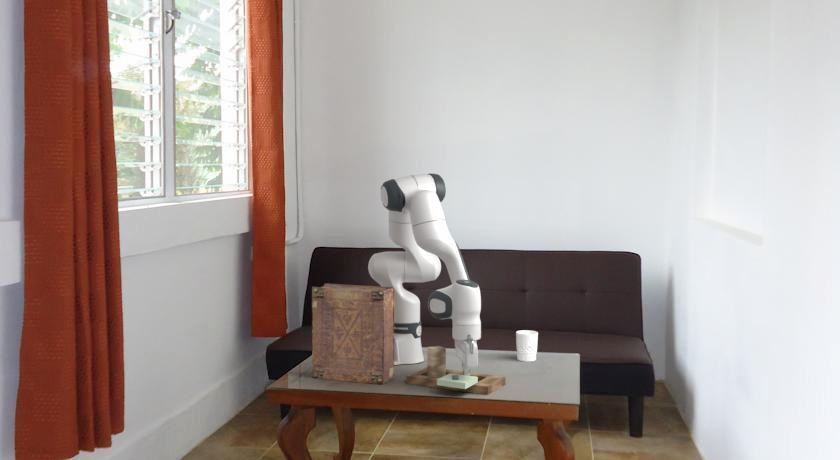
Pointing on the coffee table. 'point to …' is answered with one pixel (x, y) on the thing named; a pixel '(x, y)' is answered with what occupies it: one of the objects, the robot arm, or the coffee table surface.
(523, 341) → the white cup
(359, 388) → the coffee table surface
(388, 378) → the book
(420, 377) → the puzzle board
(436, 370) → the maple block
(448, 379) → the lid
